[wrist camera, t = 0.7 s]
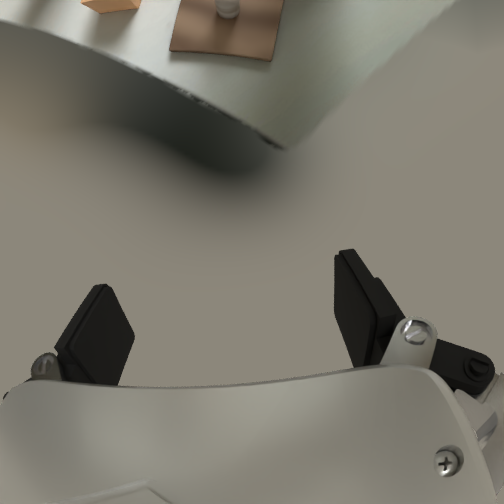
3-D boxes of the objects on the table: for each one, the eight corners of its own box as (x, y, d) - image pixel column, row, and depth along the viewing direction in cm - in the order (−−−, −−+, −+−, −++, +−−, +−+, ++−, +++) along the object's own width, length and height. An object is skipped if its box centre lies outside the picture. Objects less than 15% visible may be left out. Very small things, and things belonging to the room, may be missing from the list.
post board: (191, -25, 23) (183, -42, 18) (286, -15, 24) (292, -33, 19) (171, 51, 28) (159, 42, 23) (270, 61, 30) (275, 52, 25)
